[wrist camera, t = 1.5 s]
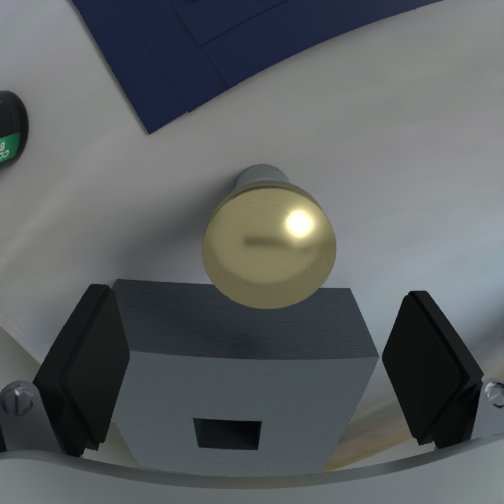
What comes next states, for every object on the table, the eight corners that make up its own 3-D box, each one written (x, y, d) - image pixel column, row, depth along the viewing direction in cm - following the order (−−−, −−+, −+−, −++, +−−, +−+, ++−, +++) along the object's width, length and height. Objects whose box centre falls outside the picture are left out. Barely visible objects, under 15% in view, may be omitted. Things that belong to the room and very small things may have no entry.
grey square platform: (350, 288, 27) (379, 356, 19) (311, 418, 36) (319, 474, 29) (117, 279, 26) (80, 343, 19) (151, 411, 35) (139, 466, 28)
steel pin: (308, 153, 21) (345, 194, 13) (299, 231, 24) (324, 310, 16) (220, 148, 21) (200, 187, 13) (219, 228, 24) (204, 306, 16)
